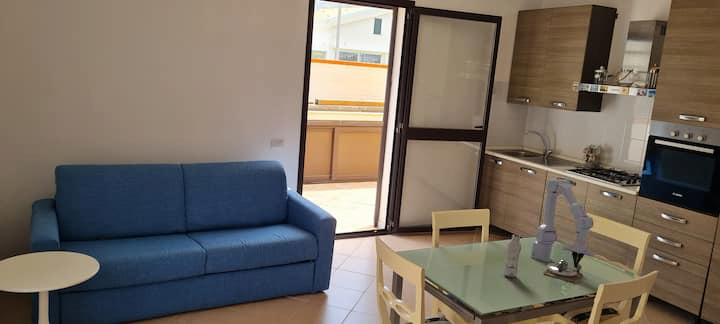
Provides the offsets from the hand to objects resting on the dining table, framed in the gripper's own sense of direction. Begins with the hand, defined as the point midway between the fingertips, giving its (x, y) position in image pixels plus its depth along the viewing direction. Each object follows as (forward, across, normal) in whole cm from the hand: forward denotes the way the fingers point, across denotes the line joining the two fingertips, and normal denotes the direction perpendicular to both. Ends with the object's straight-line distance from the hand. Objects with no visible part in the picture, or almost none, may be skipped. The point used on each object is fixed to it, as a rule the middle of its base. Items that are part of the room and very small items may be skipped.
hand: (575, 267), depth 272 cm
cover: (+2, -6, 0) cm, 7 cm away
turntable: (+5, -6, 0) cm, 8 cm away
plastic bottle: (+5, -26, -24) cm, 36 cm away
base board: (+5, -5, -1) cm, 7 cm away
